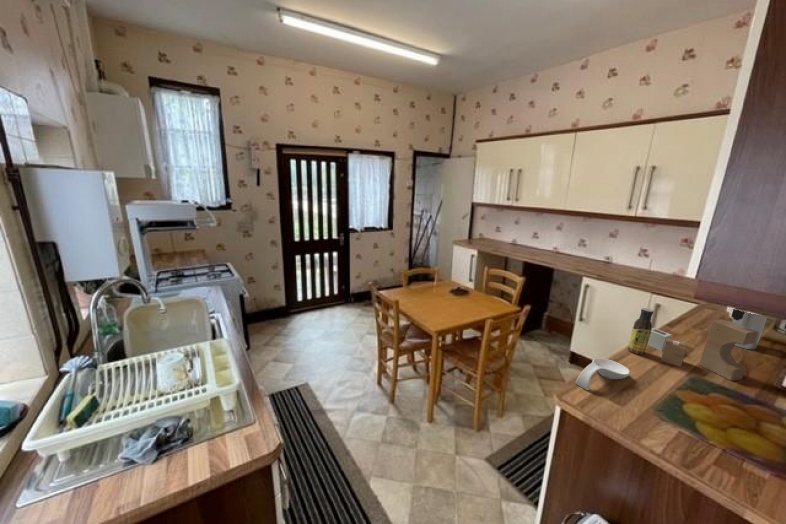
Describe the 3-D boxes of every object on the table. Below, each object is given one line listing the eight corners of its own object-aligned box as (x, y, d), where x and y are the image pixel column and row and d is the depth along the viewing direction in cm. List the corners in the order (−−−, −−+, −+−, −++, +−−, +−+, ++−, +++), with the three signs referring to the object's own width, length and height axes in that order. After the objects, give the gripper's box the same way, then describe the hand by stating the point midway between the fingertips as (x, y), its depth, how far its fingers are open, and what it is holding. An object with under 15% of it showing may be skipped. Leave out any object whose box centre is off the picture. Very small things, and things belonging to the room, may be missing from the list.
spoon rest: (601, 362, 128) (605, 347, 126) (634, 378, 118) (638, 362, 116) (566, 379, 117) (569, 362, 115) (598, 398, 107) (602, 380, 105)
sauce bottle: (631, 354, 134) (642, 311, 128) (623, 346, 140) (633, 305, 134) (648, 356, 133) (660, 313, 127) (640, 348, 139) (650, 307, 133)
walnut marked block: (661, 355, 134) (666, 337, 131) (680, 360, 130) (685, 342, 128) (661, 361, 129) (666, 343, 127) (680, 366, 125) (686, 348, 123)
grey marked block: (649, 341, 145) (653, 327, 143) (667, 348, 139) (671, 334, 137) (643, 343, 143) (647, 329, 141) (661, 351, 137) (665, 336, 135)
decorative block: (742, 379, 118) (759, 332, 112) (730, 381, 117) (747, 333, 111) (708, 363, 128) (723, 318, 123) (697, 364, 127) (711, 319, 122)
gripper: (781, 278, 108) (764, 323, 113) (727, 269, 119) (714, 310, 124) (777, 282, 104) (760, 329, 109) (722, 272, 115) (709, 315, 120)
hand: (736, 319), depth 116 cm, fingers closed
